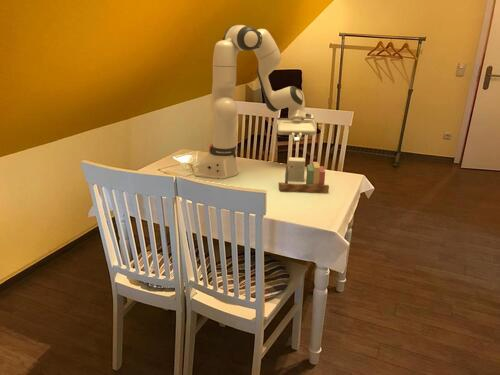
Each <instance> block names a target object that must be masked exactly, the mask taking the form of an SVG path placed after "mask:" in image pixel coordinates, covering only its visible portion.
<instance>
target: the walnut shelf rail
mask: <svg viewBox="0 0 500 375" xmlns="http://www.w3.org/2000/svg"><path fill="white" fill-rule="evenodd" d="M279 183H280V190H279V192H280V193H281V192H285V193H288V192H289V193H311V194H313V193H315V194H329V189H330V186H329V184H324V185H319V184H306V183H289V182H288V183H285V182H279Z"/></svg>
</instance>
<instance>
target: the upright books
mask: <svg viewBox="0 0 500 375" xmlns="http://www.w3.org/2000/svg"><path fill="white" fill-rule="evenodd" d="M306 165H307V166H306V176H305V177H306V179H305V184H319V185H325V182H326V181H325V179H326V178H325V177H326V170H325V167H324V166H323V165H320V163H319V161H312V164H306Z"/></svg>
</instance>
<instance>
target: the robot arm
mask: <svg viewBox="0 0 500 375" xmlns="http://www.w3.org/2000/svg"><path fill="white" fill-rule="evenodd" d="M240 51H243V52H244V51H245V52H249V51H253V53H254V54H255V57H256V59H257V61H258V66H257V67H256V73H257V78H258V81H259V84H260V88H261V90H262V94H263V96H264V101H265V105H266V108H267V110H269V111H271V112H274V113H276V112H278V111H281V110H282V109H283V110H284V109H286V108H288V112H287V114H288V115H287V117H280V118H277V120H276V125H277V129H276V133H277V135H278V136H283V135H284V136H291V138H292V139H293V143H300V141H301V139H302V136H315V135H317V131H318V130H317V124H316V121H315V115H314V114H311V113H307V112H306V111H305V108H306V100H305V95H304V92H303V90H301V89H300V88H298V87H296V86H294V85H291V86H287V87H284V88H281V89H278V90H273V88H272V86H271V83H270V79H269V75H270V74H272V72H274V70H276V69H277V67H278V66H279V65H280V62H281V59H282V54H281V52H280V49H279V47H278V45H277V43H276V41H275V39H274V37H273V36H272V34H271V33H270V31H268V30H267V29H265V28H259V29H256V28H255V27H253V26H251V25H244V24H234V25H231V26H229V27H228V28H227V29H226V31H225V33H224V36H223V38H222V39H221V40H218V41H217V42H216V43H215V45H214V50H213V56H212V57H213V58H212V85H211V86H212V87H211V100H210V101H211V109H212V111H213V127H212V128H213V129H212V143H210V145H209V149H208V151H209V152H208V153H207V154H206V155H204V156H203V157H202V158H201V159H200V160H199V163H198V166H197V167H198V168H197V167H196V168H197V169H196V168H195V169H194V171H193V175H194V176H195V177H200V178H201V177H202V178H208V179H209V178H210V179H218V178H219V179H220V180H223V179H228V178H231V177H232V178H233V177H235V176H237V175H239V169H238V165H237V164H238V163H237V145H236V129H237V119H238V105H237V104H236V102H235V91H236V90H235V89H236V84H237V64H238V63H237V58H238V54H239V52H240ZM296 136H298V137H296Z"/></svg>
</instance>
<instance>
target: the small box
mask: <svg viewBox="0 0 500 375" xmlns="http://www.w3.org/2000/svg"><path fill="white" fill-rule="evenodd" d="M287 166H288V182H305V171H306V170H305V169H306V159H305V157H290V156H289V157H288V165H287Z"/></svg>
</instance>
